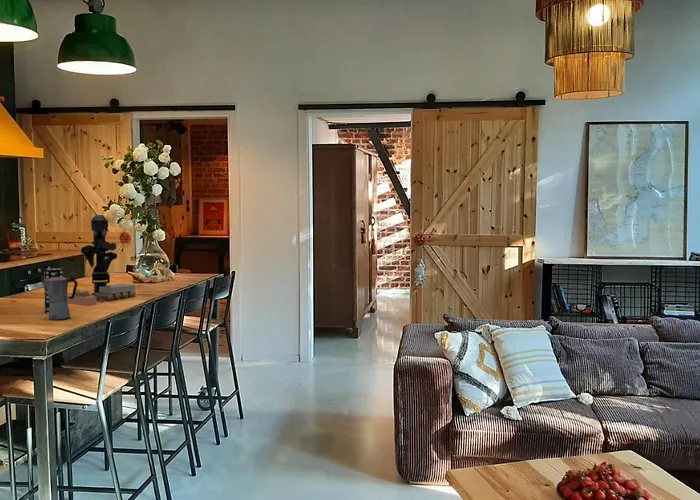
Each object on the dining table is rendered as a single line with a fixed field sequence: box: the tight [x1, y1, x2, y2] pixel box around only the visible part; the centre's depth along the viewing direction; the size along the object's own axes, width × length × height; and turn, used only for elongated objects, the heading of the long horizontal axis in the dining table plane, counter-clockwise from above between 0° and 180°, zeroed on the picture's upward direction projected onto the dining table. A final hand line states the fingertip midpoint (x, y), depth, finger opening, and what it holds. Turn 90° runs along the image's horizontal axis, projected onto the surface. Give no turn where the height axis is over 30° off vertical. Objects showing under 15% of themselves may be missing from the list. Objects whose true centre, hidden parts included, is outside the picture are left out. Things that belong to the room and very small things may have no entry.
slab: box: [99, 283, 136, 294], centre depth 349 cm, size 9×16×3 cm, turn 153°
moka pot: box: [41, 273, 78, 321], centre depth 289 cm, size 10×15×20 cm, turn 95°
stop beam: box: [67, 293, 98, 307], centre depth 328 cm, size 16×5×4 cm, turn 63°
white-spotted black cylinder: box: [43, 267, 65, 315], centre depth 303 cm, size 8×8×20 cm
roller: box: [75, 288, 90, 297], centre depth 328 cm, size 8×3×3 cm, turn 63°
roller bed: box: [94, 290, 136, 303], centre depth 343 cm, size 10×28×4 cm, turn 153°
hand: (99, 269), depth 331 cm, fingers open, 9 cm apart
